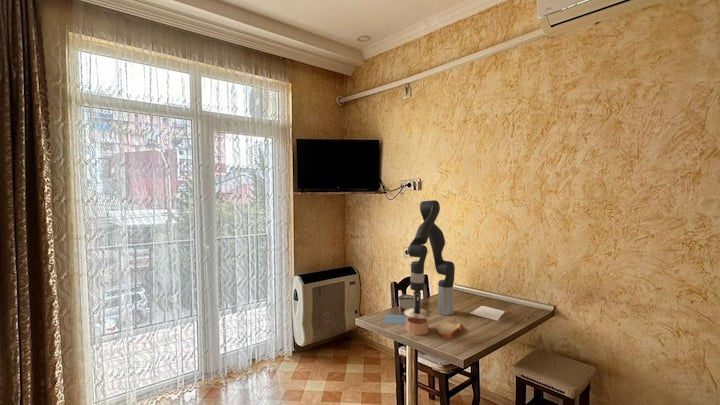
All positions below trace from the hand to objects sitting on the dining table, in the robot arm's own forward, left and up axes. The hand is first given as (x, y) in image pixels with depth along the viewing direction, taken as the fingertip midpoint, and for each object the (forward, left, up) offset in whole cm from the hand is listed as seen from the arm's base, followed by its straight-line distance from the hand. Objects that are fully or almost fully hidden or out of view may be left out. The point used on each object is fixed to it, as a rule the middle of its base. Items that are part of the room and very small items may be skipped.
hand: (416, 311), depth 179 cm
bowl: (0, 0, -11) cm, 11 cm away
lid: (0, 0, -1) cm, 1 cm away
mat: (+11, -15, -11) cm, 21 cm away
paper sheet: (-52, -32, -11) cm, 62 cm away
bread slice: (-19, -2, -11) cm, 22 cm away
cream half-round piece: (+4, -32, -11) cm, 34 cm away
